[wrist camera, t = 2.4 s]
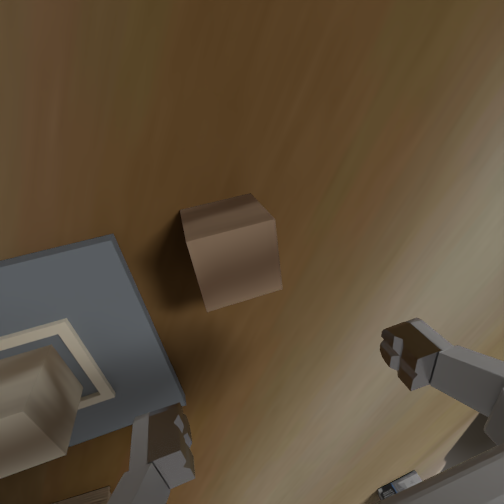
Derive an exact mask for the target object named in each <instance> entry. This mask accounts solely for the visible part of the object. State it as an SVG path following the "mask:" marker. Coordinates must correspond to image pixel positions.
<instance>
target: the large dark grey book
mask: <svg viewBox="0 0 504 504" xmlns="http://www.w3.org/2000/svg"><path fill="white" fill-rule="evenodd" d="M111 495H112V494H111V493H110V487H106V488H102V489H99V490H96V491H93V492H89V493H86V494H83V495H80V496H76V497H73V498H70V499H66V500H63V501H60V502H57V503H53V504H107V503H108V501H109V499H110V497H111Z"/></svg>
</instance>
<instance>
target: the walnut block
mask: <svg viewBox="0 0 504 504" xmlns="http://www.w3.org/2000/svg"><path fill="white" fill-rule="evenodd" d="M180 214H181V219H182V224H183V229H184V234H185V239H186V244H187V247H188V250H189V254H190V257H191V260H192V264H193V267H194V270H195V274H196V277H197V280H198V284H199V287H200V290H201V293H202V297H203V300H204V303H205V307H206V310H207V312H209V311H212V310H216V309H219V308H222V307H225V306H229V305H232V304H235V303H238V302H242V301H245V300H248V299H252V298H255V297H258V296H261V295H265V294H268V293H271V292H274V291H278V290H281V289H283V288H282V279H281V270H280V261H279V251H278V242H277V233H276V224H275V218H274V217H273V216H272V215H271V214H270V213H269V212H268V211H267V210H266V209H265V208H264V207H263V206H262V205H261V204H260V203H259V202H258V201H257V200H256V199H255V198H254V196H253V195H252V194H251V193H250V194H245V195H241V196H237V197H233V198H229V199H224V200H220V201H216V202H212V203H208V204H203V205H199V206H195V207H191V208H187V209H182V210H180Z"/></svg>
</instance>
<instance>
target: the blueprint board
mask: <svg viewBox="0 0 504 504" xmlns="http://www.w3.org/2000/svg"><path fill="white" fill-rule="evenodd" d="M51 344H52V346H53V347H54V348H55V350H56V351H57V352H58V354H59V355H60V356H61V358H62V359H63V361H64V362H65V363H66V365H67V366H68V367H69V369H70V370H71V371H72V373H73V374H74V375H75V377H76V378H77V379H78V381H79V382H80V384H81V385H82V386H83V391H82V395H81V399H80V403H79V407H78V411H77V414H76V418H75V422H74V426H73V430H72V434H71V438H70V442H69V446H68V447H70V446H73V445H76V444H79V443H81V442H84V441H87V440H90V439H93V438H95V437H98V436H101V435H104V434H107V433H109V432H112V431H115V430H118V429H120V428H123V427H126V426H129V425H132V424H133V422H134V419H135V417H137V416H140V415H143V414H145V413H148V412H152V411H155V410H158V409H161V408H164V407H167V406H170V405H173V404H176V403H178V402H180V404H181V406H185V405H186V399H185V394H184V392H183V390H182V387H181V385H180V383H179V381H178V378H177V376H176V374H175V372H174V369H173V367H172V365H171V363H170V360H169V358H168V356H167V354H166V351H165V349H164V347H163V345H162V342H161V340H160V338H159V336H158V333H157V331H156V329H155V327H154V324H153V322H152V320H151V318H150V315H149V313H148V311H147V309H146V306H145V304H144V302H143V300H142V297H141V295H140V293H139V291H138V288H137V286H136V284H135V282H134V279H133V277H132V275H131V273H130V270H129V268H128V266H127V264H126V261H125V259H124V257H123V255H122V252H121V250H120V248H119V246H118V243H117V241H116V239H115V237H114V234H110V235H106V236H102V237H98V238H93V239H89V240H85V241H81V242H77V243H73V244H69V245H64V246H60V247H56V248H52V249H48V250H44V251H40V252H35V253H31V254H27V255H23V256H19V257H15V258H11V259H6V260H2V261H0V360H1V359H4V358H8V357H11V356H14V355H18V354H21V353H24V352H28V351H31V350H35V349H38V348H41V347H45V346H48V345H51Z"/></svg>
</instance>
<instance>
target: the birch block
mask: <svg viewBox="0 0 504 504" xmlns="http://www.w3.org/2000/svg"><path fill="white" fill-rule="evenodd" d="M82 391H83V386H82V385H81V384H80V382H79V381H78V379H77V378H76V377H75V375H74V374H73V373H72V371H71V370H70V369H69V367H68V366H67V365H66V363H65V362H64V361H63V359H62V358H61V356H60V355H59V354H58V352H57V351H56V350H55V348H54V347H53V346H52V344H51V345H48V346H45V347H41V348H38V349H35V350H31V351H28V352H24V353H21V354H18V355H14V356H11V357H8V358H4V359H1V360H0V479H1V478H3V477H6V476H9V475H12V474H15V473H17V472H20V471H23V470H26V469H28V468H31V467H34V466H37V465H39V464H42V463H45V462H48V461H50V460H53V459H56V458H59V457H61V456H64V455H66V454H67V450H68V446H69V442H70V438H71V434H72V430H73V426H74V422H75V418H76V414H77V411H78V407H79V403H80V399H81V395H82Z"/></svg>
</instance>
